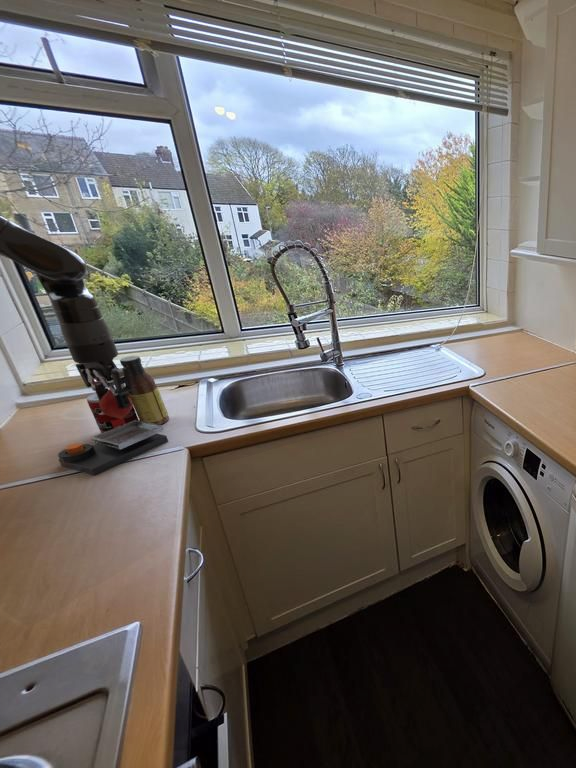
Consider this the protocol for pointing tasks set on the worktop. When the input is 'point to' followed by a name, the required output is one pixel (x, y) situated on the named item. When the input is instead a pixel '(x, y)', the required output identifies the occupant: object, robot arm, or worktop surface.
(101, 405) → the onion
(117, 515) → the worktop surface
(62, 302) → the robot arm
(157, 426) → the pan
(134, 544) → the worktop surface
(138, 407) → the sauce bottle
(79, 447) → the tare button
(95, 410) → the canned food
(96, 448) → the scale
